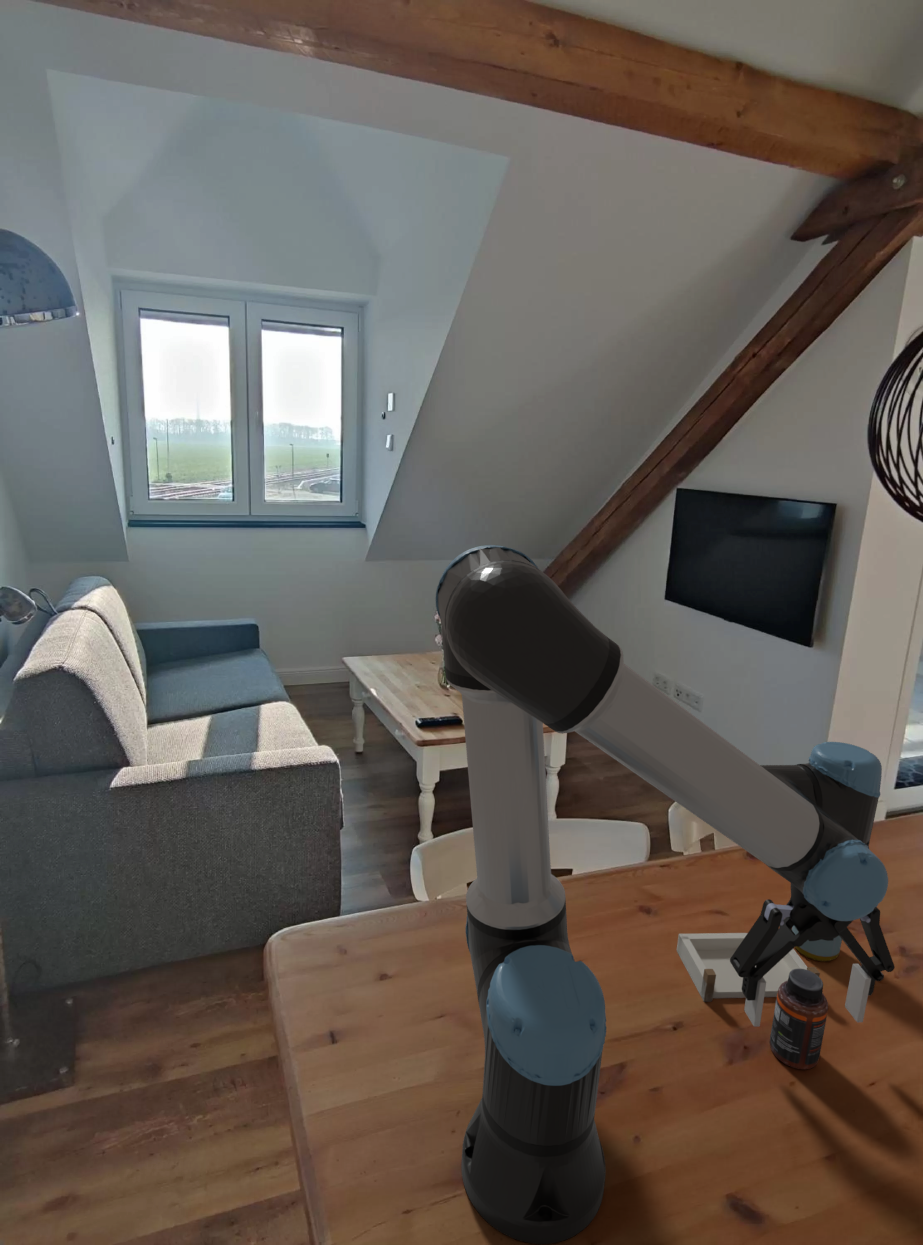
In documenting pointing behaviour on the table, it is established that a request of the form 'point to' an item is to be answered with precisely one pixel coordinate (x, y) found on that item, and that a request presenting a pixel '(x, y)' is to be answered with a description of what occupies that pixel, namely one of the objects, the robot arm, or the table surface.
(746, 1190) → the table surface
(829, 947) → the bottle
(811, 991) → the supplement bottle
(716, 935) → the bay
